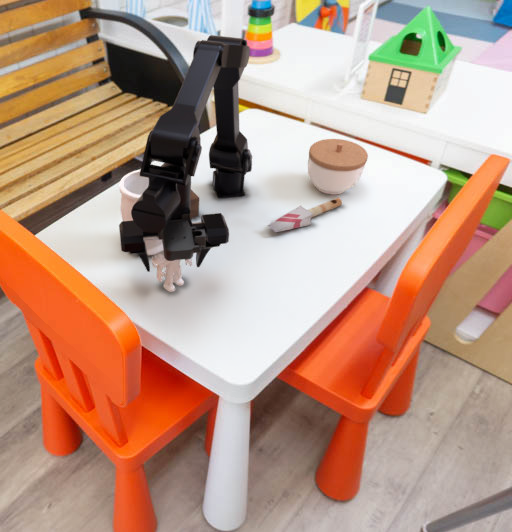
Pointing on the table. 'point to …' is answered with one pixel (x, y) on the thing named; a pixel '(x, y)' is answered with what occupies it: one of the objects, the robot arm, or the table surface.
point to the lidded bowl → (335, 165)
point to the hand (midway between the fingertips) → (173, 268)
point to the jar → (131, 192)
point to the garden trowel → (302, 216)
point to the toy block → (194, 205)
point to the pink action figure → (169, 271)
